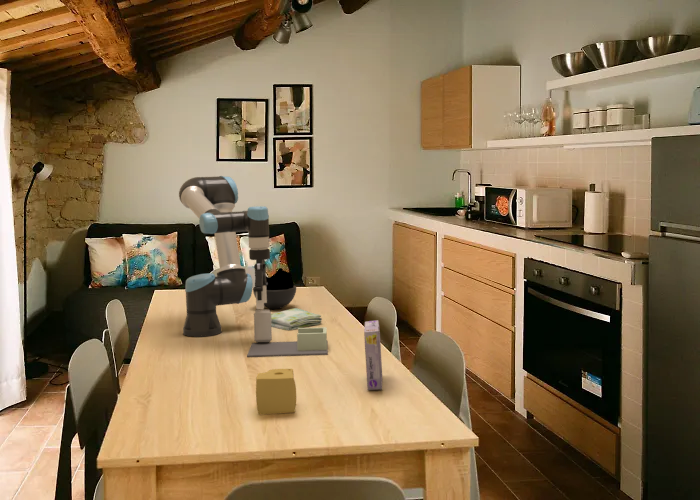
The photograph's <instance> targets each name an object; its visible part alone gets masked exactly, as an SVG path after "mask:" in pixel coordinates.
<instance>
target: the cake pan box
mask: <svg viewBox="0 0 700 500" xmlns="http://www.w3.org/2000/svg"><path fill="white" fill-rule="evenodd" d="M363 331H364V337H363V338H364V351H365V352H364V353H365V370H366V373H365V374H366V386H367V390H368V391H383V368H382V367H383V366H382V364H383V362H382V345H381V332H380V321H379V319H378V320H369V321H365V322H364V329H363Z"/></svg>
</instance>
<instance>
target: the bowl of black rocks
mask: <svg viewBox="0 0 700 500" xmlns="http://www.w3.org/2000/svg"><path fill="white" fill-rule="evenodd" d="M266 282H268V285H265V286H266V294H267V303H264V308H267V309H269V310H270V309H271V310H279V309H282V308H285V307H286V306H288V305H289V304H290V303H291V302H292V301H293V299H294V298H295V296H296V292H297V286H296V285H294V283H295V282H294V281H293V280H292V274H291V273H290V272H289V271H286V270H284V269H283V268H282V267H279V268H278V269H277V270H276V272H275V273H273V274H272V275H271V276H270V277H269V276H267V275H266ZM254 289H255V286H253V287H252V294H253V295H254V297H255V299H256V291H254Z"/></svg>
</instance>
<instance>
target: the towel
mask: <svg viewBox="0 0 700 500" xmlns="http://www.w3.org/2000/svg"><path fill="white" fill-rule="evenodd" d="M322 320H323V318H322V315H320V314H318V313H313V312H312V311H311V312H310V311H308V310H304V309H302V308H297V307H296V308H295V307H294V308H290V309H286V310H282V311H278V312H273V313H271V328H277V329H279V330H284V331H293V330H298V328H308V327H312V326H319V325H321V324H322Z"/></svg>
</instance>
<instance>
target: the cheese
mask: <svg viewBox="0 0 700 500" xmlns="http://www.w3.org/2000/svg"><path fill="white" fill-rule="evenodd" d="M294 377H295V375H294V369H293V368H272V369H269V370H267V371H266V372H259V373H257V375H256V378H255V381H256V382H255V398H256V400H255V402H256V409H257V415H259V416H261V415H275V414H276V415H277V414H278V415H279V414H290V413H291V414H293V413H295V412H296V408H297V407H296V406H297V385H296V381H295V378H294Z"/></svg>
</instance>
